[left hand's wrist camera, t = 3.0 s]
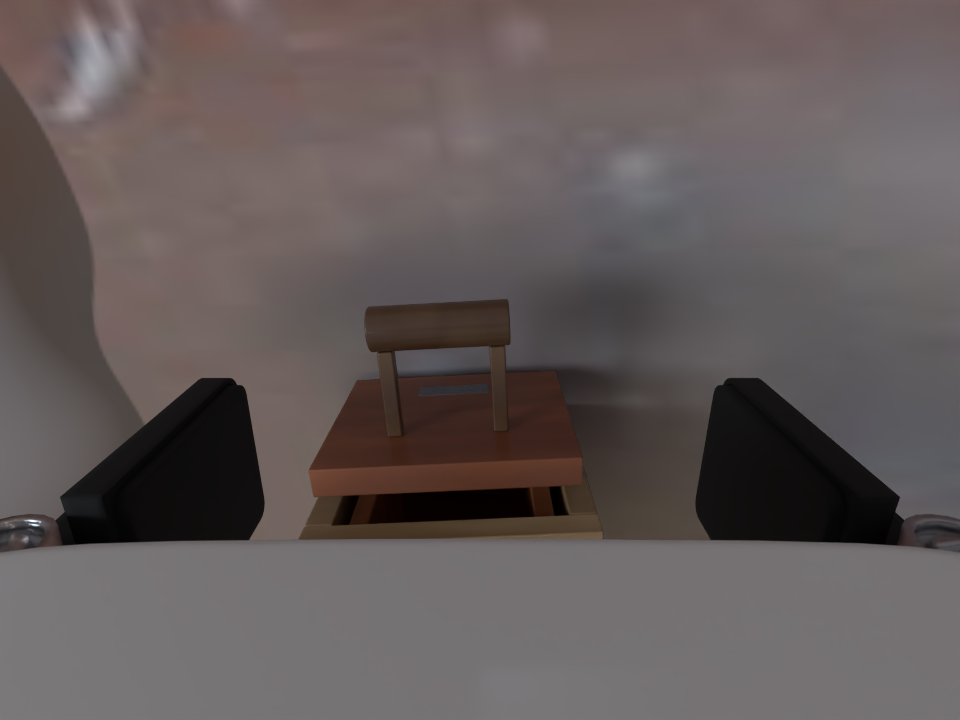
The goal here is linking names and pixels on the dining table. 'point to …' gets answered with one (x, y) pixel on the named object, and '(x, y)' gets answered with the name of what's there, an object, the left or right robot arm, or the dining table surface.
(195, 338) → the dining table surface
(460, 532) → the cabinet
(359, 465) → the drawer
